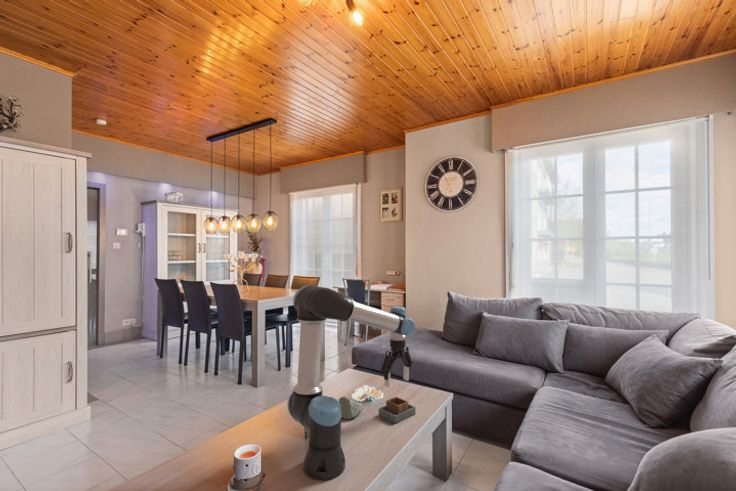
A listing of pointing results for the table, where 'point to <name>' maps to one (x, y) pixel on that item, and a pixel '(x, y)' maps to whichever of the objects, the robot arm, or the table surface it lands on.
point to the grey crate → (399, 417)
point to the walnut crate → (396, 405)
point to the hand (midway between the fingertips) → (396, 383)
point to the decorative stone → (349, 408)
